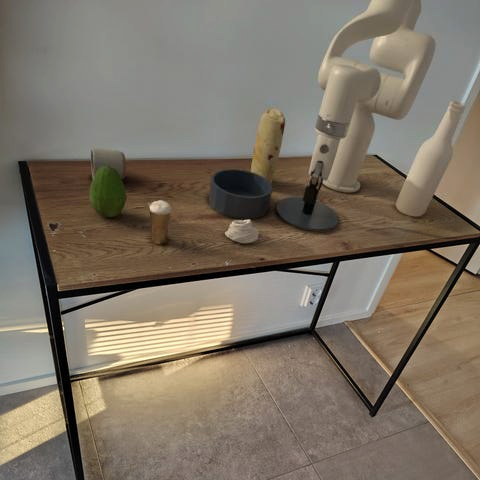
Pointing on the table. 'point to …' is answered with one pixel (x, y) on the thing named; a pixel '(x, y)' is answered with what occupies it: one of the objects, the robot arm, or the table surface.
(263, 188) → the pot
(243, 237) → the whipped cream
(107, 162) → the ceramic mug
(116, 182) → the avocado
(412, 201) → the alcohol
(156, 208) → the milkshake
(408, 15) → the robot arm
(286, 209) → the pot lid
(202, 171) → the table surface
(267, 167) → the food model
